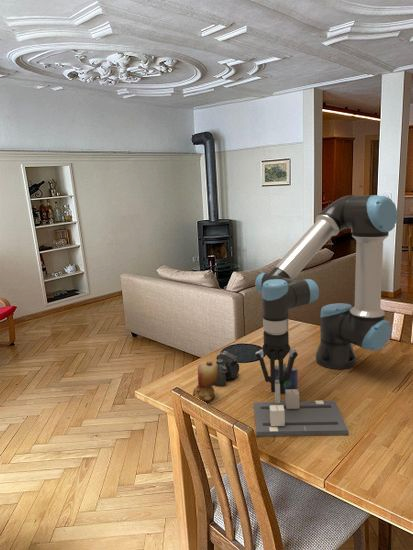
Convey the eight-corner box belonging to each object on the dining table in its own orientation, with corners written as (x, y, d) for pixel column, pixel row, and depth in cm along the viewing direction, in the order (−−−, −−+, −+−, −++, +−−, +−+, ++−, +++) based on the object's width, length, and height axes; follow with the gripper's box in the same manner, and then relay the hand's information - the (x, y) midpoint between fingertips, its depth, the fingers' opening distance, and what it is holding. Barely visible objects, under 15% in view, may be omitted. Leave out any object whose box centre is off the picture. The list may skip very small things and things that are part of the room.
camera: (235, 388, 147) (234, 362, 145) (208, 385, 150) (206, 360, 147) (242, 371, 159) (241, 347, 157) (217, 369, 162) (215, 345, 160)
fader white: (283, 420, 123) (283, 404, 121) (284, 425, 120) (284, 410, 119) (269, 420, 123) (269, 404, 122) (270, 426, 120) (270, 410, 119)
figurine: (190, 391, 146) (198, 353, 143) (211, 394, 147) (219, 356, 144) (192, 406, 136) (200, 365, 133) (214, 409, 137) (222, 368, 134)
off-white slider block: (297, 403, 131) (297, 389, 130) (299, 408, 128) (299, 393, 127) (285, 403, 131) (285, 389, 130) (286, 408, 128) (286, 394, 127)
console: (334, 404, 133) (334, 400, 132) (348, 434, 117) (348, 429, 117) (253, 406, 134) (253, 401, 134) (256, 436, 119) (256, 431, 118)
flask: (298, 390, 142) (297, 362, 140) (297, 395, 140) (297, 366, 137) (271, 388, 145) (270, 360, 142) (270, 392, 142) (269, 364, 140)
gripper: (295, 325, 127) (296, 394, 133) (253, 326, 128) (256, 395, 134) (299, 334, 120) (300, 406, 126) (254, 336, 121) (257, 407, 127)
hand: (277, 400), depth 130 cm, fingers closed
